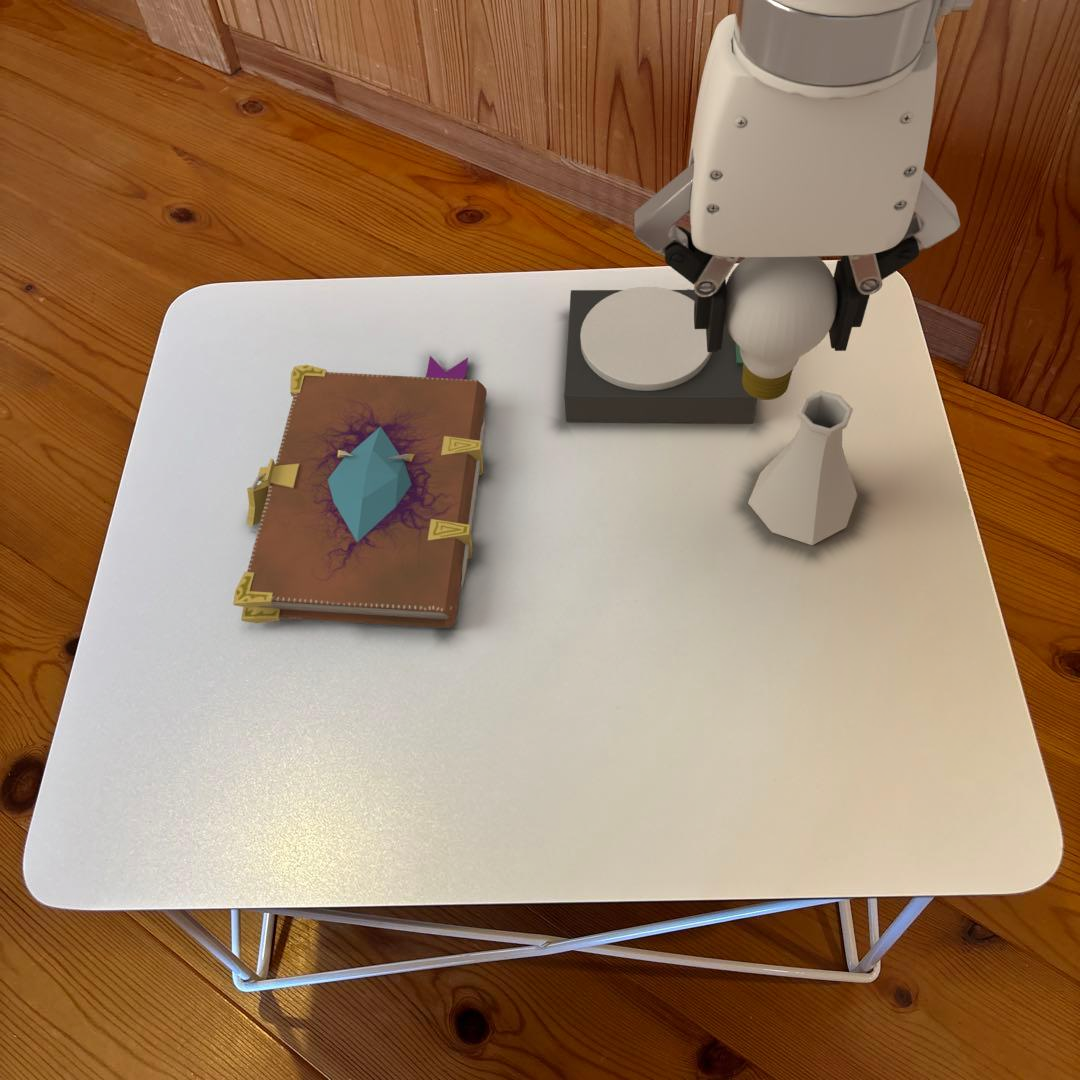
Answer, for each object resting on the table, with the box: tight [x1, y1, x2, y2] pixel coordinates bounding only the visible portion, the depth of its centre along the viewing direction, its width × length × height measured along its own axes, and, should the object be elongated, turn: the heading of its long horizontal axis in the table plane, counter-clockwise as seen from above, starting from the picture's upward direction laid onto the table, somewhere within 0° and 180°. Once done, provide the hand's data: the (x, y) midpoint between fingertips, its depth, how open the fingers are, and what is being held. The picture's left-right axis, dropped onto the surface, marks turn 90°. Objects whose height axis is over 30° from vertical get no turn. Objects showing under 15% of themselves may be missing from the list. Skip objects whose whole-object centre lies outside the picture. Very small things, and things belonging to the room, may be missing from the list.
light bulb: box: [725, 256, 838, 401], centre depth 56 cm, size 6×6×10 cm
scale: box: [563, 286, 758, 424], centre depth 79 cm, size 14×11×4 cm
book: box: [232, 355, 488, 629], centre depth 75 cm, size 16×25×5 cm, turn 176°
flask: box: [747, 390, 858, 546], centre depth 69 cm, size 7×7×10 cm
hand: (773, 330), depth 56 cm, fingers closed on light bulb, 5 cm apart
